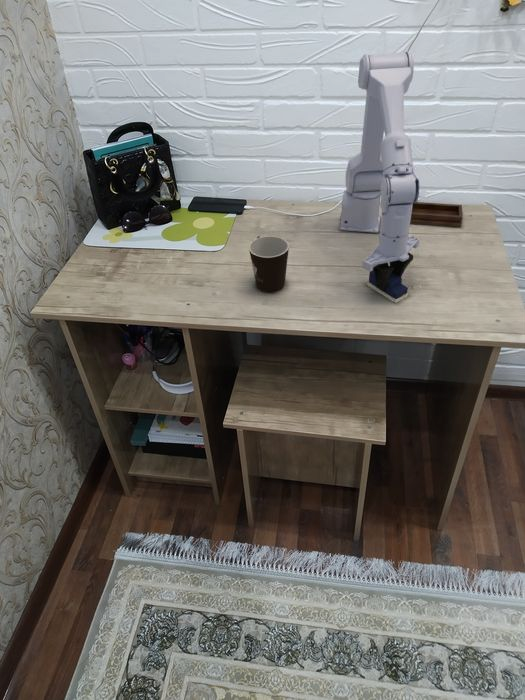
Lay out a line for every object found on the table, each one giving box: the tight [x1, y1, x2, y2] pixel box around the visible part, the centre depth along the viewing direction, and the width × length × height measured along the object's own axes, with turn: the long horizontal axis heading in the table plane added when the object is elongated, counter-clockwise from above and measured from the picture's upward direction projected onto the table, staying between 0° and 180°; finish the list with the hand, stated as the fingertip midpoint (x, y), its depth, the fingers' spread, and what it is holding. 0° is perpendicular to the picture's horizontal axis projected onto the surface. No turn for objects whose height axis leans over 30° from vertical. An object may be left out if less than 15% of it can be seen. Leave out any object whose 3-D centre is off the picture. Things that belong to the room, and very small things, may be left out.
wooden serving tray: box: [410, 201, 463, 229], centre depth 147 cm, size 16×8×2 cm, turn 77°
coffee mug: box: [248, 235, 290, 294], centre depth 127 cm, size 12×9×10 cm
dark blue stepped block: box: [366, 271, 409, 304], centre depth 124 cm, size 9×4×4 cm, turn 37°
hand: (387, 285), depth 124 cm, fingers closed on dark blue stepped block, 3 cm apart
